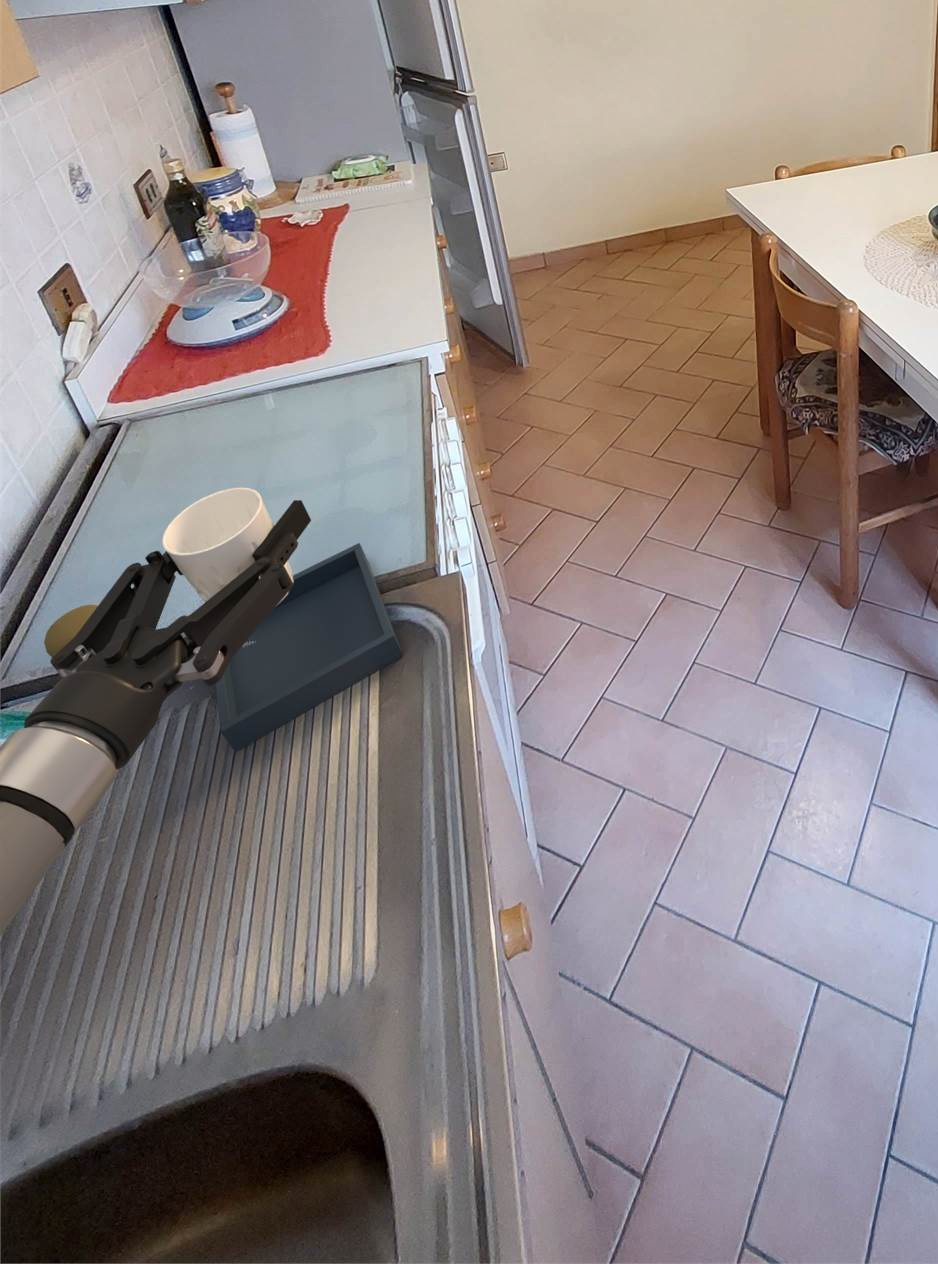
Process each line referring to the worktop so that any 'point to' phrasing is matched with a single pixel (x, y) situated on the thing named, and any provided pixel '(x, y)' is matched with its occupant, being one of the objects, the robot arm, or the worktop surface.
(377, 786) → the worktop surface
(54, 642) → the cork
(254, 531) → the white cup
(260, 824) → the worktop surface
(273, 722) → the shallow grey tray
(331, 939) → the worktop surface
